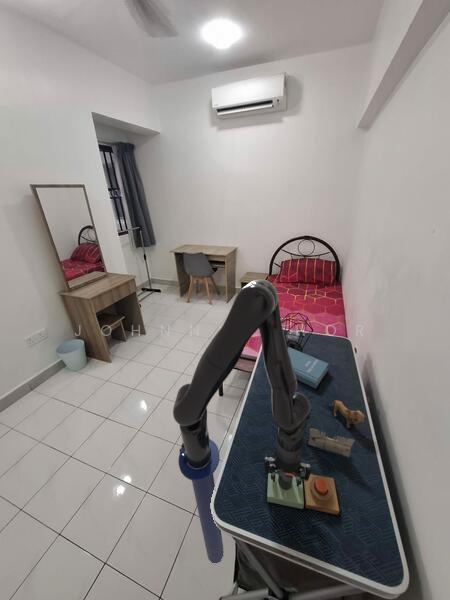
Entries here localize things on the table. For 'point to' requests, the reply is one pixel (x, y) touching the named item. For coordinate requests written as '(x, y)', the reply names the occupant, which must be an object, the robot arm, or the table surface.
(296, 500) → the green dial box
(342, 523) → the table surface
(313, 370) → the book
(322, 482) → the button
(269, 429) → the table surface
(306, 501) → the button box
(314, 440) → the comb
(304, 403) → the robot arm
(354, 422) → the lion figurine
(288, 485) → the knob
